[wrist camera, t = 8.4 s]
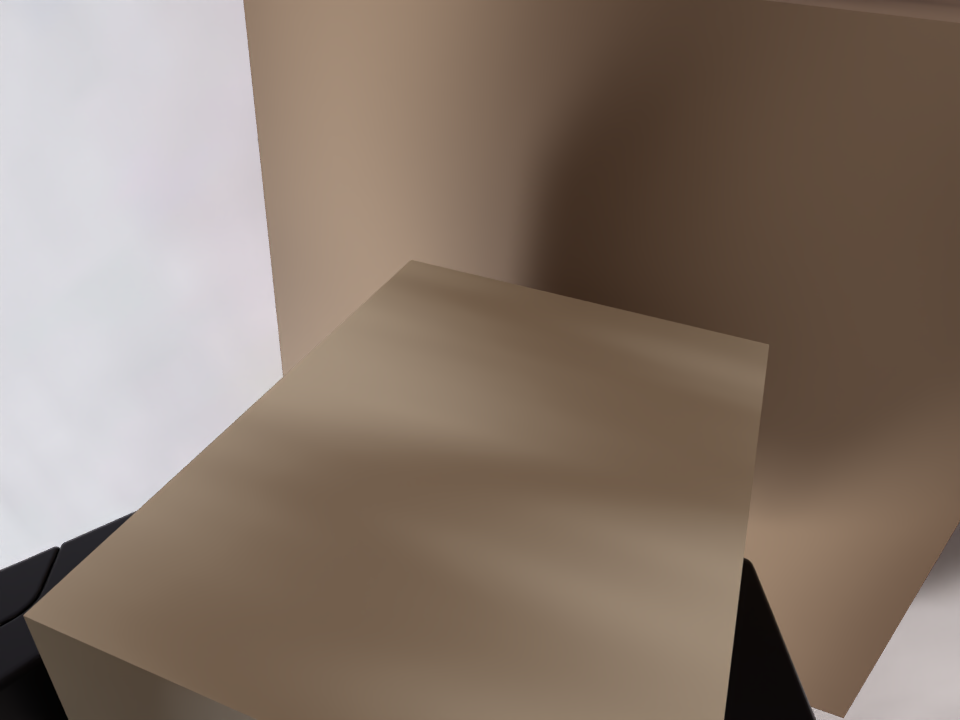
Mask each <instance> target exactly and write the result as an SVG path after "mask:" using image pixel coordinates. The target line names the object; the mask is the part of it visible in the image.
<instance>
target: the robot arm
mask: <svg viewBox="0 0 960 720" xmlns="http://www.w3.org/2000/svg"><path fill="white" fill-rule="evenodd" d="M137 511H138V510H137ZM135 512H136V511H135ZM135 512H133V513H131V514H128V515H126V516H124V517H121V518H119V519H117V520H115V521H112V522H110V523H108V524H105V525H103V526H101V527H99V528H96V529H94V530H92V531H90V532H87V533H85V534H83V535H80V536H78V537H76V538H74V539H71V540H69V541H67V542H64V543H63V544H62V545H61V547H60V548H59V547H53V548H50V549H48V550H46V551H44V552H41V553H39V554H37V555H34V556H32V557H30V558H28V559H25V560H23V561H21V562H18V563H16V564H13V565H11V566H9V567H6V568H4V569H2V570H0V720H68V717H67V715H66V713H65V710H64V708H63V706H62V704H61V701H60V699H59V697H58V694H57V692H56V690H55V688H54V685H53V683H52V681H51V678H50V676H49V674H48V671H47V669H46V667H45V665H44V662H43V660H42V658H41V655H40V653H39V651H38V649H37V646H36V644H35V642H34V639H33V637H32V635H31V632H30V630H29V628H28V626H27V623H26V621H25V619H24V616H23V615H24V614H25V613H26V612H27V611H28V610H30V609H31V608H32V607H33V606H34V605H35V604H36V603H37V602H38V601H39V600H40V599H42V598H43V597H44V596H45V595H46V594H47V593H48V592H49V591H50V590H51V589H52V588H54V587H55V586H56V585H57V584H58V583H59V582H60V581H61V580H62V579H63V578H64V577H66V576H67V575H68V574H69V573H70V572H71V571H72V570H73V569H74V568H75V567H76V566H78V565H79V564H80V563H81V562H82V561H83V560H84V559H85V558H86V557H87V556H88V555H90V554H91V553H92V552H93V551H94V550H95V549H96V548H97V547H98V546H99V545H100V544H102V543H103V542H104V541H105V540H106V539H107V538H108V537H109V536H110V535H111V534H112V533H114V532H115V531H116V530H117V529H118V528H119V527H120V526H121V525H122V524H123V523H124V522H126V521H127V520H128V519H129V518H130V517H131V516H132V515H133V514H134V513H135ZM724 720H816V718H815V716H814V713H813V711H812V708H811V706H810V704H809V701H808V699H807V696H806V694H805V691H804V689H803V686H802V684H801V681H800V679H799V676H798V674H797V671H796V669H795V667H794V664H793V662H792V659H791V657H790V654H789V652H788V649H787V647H786V644H785V642H784V639H783V637H782V634H781V632H780V629H779V627H778V625H777V622H776V620H775V617H774V615H773V612H772V610H771V607H770V605H769V602H768V600H767V597H766V595H765V592H764V590H763V587H762V585H761V583H760V580H759V578H758V575H757V573H756V570H755V568H754V566H753V564H752V562H751V561H750V560H748V559H746V558H743V567H742V575H741V583H740V591H739V600H738V608H737V616H736V625H735V633H734V641H733V649H732V658H731V666H730V674H729V682H728V691H727V699H726V707H725V716H724Z"/></svg>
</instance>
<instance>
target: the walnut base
mask: <svg viewBox="0 0 960 720" xmlns="http://www.w3.org/2000/svg"><path fill="white" fill-rule="evenodd" d="M243 1H244V10H245V20H246V29H247V39H248V48H249V57H250V67H251V76H252V86H253V95H254V105H255V114H256V124H257V133H258V143H259V152H260V162H261V171H262V180H263V190H264V199H265V209H266V218H267V228H268V237H269V247H270V256H271V266H272V275H273V285H274V294H275V304H276V313H277V322H278V332H279V341H280V351H281V360H282V370H283V377H284V376H285V375H286V374H287V373H288V372H289V371H290V370H291V369H292V368H294V367H295V366H296V365H297V364H298V363H299V362H300V361H301V360H302V359H303V358H304V357H306V356H307V355H308V354H309V353H310V352H311V351H312V350H313V349H314V348H315V347H316V346H318V345H319V344H320V343H321V342H322V341H323V340H324V339H325V338H326V337H327V336H328V335H330V334H331V333H332V332H333V331H334V330H335V329H336V328H337V327H338V326H339V325H340V324H342V323H343V322H344V321H345V320H346V319H347V318H348V317H349V316H350V315H351V314H352V313H354V312H355V311H356V310H357V309H358V308H359V307H360V306H361V305H362V304H363V303H364V302H366V301H367V300H368V299H369V298H370V297H371V296H372V295H373V294H374V293H375V292H376V291H378V290H379V289H380V288H381V287H382V286H383V285H384V284H385V283H386V282H387V281H388V280H390V279H391V278H392V277H393V276H394V275H395V274H396V273H397V272H398V271H399V270H400V269H402V268H403V267H404V266H405V265H406V264H407V263H408V262H409V261H410V260H415V261H419V262H423V263H427V264H431V265H436V266H440V267H444V268H448V269H453V270H457V271H461V272H465V273H469V274H474V275H478V276H482V277H486V278H491V279H495V280H499V281H503V282H507V283H512V284H516V285H520V286H524V287H528V288H533V289H537V290H541V291H545V292H550V293H554V294H558V295H562V296H566V297H571V298H575V299H579V300H583V301H588V302H592V303H596V304H600V305H604V306H609V307H613V308H617V309H621V310H626V311H630V312H634V313H638V314H642V315H647V316H651V317H655V318H659V319H664V320H668V321H672V322H676V323H680V324H685V325H689V326H693V327H697V328H702V329H706V330H710V331H714V332H718V333H723V334H727V335H731V336H735V337H740V338H744V339H748V340H752V341H756V342H761V343H765V344H769V351H768V360H767V368H766V376H765V384H764V393H763V401H762V409H761V418H760V426H759V434H758V442H757V451H756V459H755V467H754V475H753V484H752V492H751V500H750V509H749V517H748V525H747V533H746V542H745V550H744V558H746V559H748V560H750V561H751V562H752V564H753V566H754V568H755V570H756V573H757V575H758V578H759V580H760V583H761V585H762V587H763V590H764V592H765V595H766V597H767V600H768V602H769V605H770V607H771V610H772V612H773V615H774V617H775V620H776V622H777V625H778V627H779V629H780V632H781V634H782V637H783V639H784V642H785V644H786V647H787V649H788V652H789V654H790V657H791V659H792V662H793V664H794V667H795V669H796V671H797V674H798V676H799V679H800V681H801V684H802V686H803V689H804V691H805V694H806V696H807V699H808V701H809V704H810V706H811V707H814V708H816V709H819V710H822V711H825V712H828V713H830V714H833V715H836V716H839V717H842V718H844V716H845V715H846V713H847V711H848V710H849V708H850V706H851V705H852V703H853V701H854V700H855V698H856V696H857V694H858V693H859V691H860V689H861V688H862V686H863V684H864V683H865V681H866V679H867V678H868V676H869V674H870V672H871V671H872V669H873V667H874V666H875V664H876V662H877V661H878V659H879V657H880V656H881V654H882V652H883V650H884V649H885V647H886V645H887V644H888V642H889V640H890V639H891V637H892V635H893V634H894V632H895V630H896V628H897V627H898V625H899V623H900V622H901V620H902V618H903V617H904V615H905V613H906V611H907V610H908V608H909V606H910V605H911V603H912V601H913V600H914V598H915V596H916V595H917V593H918V591H919V589H920V588H921V586H922V584H923V583H924V581H925V579H926V578H927V576H928V574H929V573H930V571H931V569H932V567H933V566H934V564H935V562H936V561H937V559H938V557H939V556H940V554H941V552H942V551H943V549H944V547H945V545H946V544H947V542H948V540H949V539H950V537H951V535H952V534H953V532H954V530H955V529H956V527H957V525H958V523H959V522H960V0H243Z"/></svg>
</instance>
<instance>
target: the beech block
mask: <svg viewBox="0 0 960 720" xmlns="http://www.w3.org/2000/svg"><path fill="white" fill-rule="evenodd" d="M768 351H769V344H765V343H761V342H756V341H752V340H748V339H744V338H740V337H735V336H731V335H727V334H723V333H718V332H714V331H710V330H706V329H702V328H697V327H693V326H689V325H685V324H680V323H676V322H672V321H668V320H664V319H659V318H655V317H651V316H647V315H642V314H638V313H634V312H630V311H626V310H621V309H617V308H613V307H609V306H604V305H600V304H596V303H592V302H588V301H583V300H579V299H575V298H571V297H566V296H562V295H558V294H554V293H550V292H545V291H541V290H537V289H533V288H528V287H524V286H520V285H516V284H512V283H507V282H503V281H499V280H495V279H491V278H486V277H482V276H478V275H474V274H469V273H465V272H461V271H457V270H453V269H448V268H444V267H440V266H436V265H431V264H427V263H423V262H419V261H415V260H410V261H409V262H408V263H407V264H406V265H405V266H404V267H403V268H402V269H400V270H399V271H398V272H397V273H396V274H395V275H394V276H393V277H392V278H391V279H390V280H388V281H387V282H386V283H385V284H384V285H383V286H382V287H381V288H380V289H379V290H378V291H376V292H375V293H374V294H373V295H372V296H371V297H370V298H369V299H368V300H367V301H366V302H364V303H363V304H362V305H361V306H360V307H359V308H358V309H357V310H356V311H355V312H354V313H352V314H351V315H350V316H349V317H348V318H347V319H346V320H345V321H344V322H343V323H342V324H340V325H339V326H338V327H337V328H336V329H335V330H334V331H333V332H332V333H331V334H330V335H328V336H327V337H326V338H325V339H324V340H323V341H322V342H321V343H320V344H319V345H318V346H316V347H315V348H314V349H313V350H312V351H311V352H310V353H309V354H308V355H307V356H306V357H304V358H303V359H302V360H301V361H300V362H299V363H298V364H297V365H296V366H295V367H294V368H292V369H291V370H290V371H289V372H288V373H287V374H286V375H285V376H284V377H283V378H282V379H280V380H279V381H278V382H277V383H276V384H275V385H274V386H273V387H272V388H271V389H270V390H268V391H267V392H266V393H265V394H264V395H263V396H262V397H261V398H260V399H259V400H258V401H256V402H255V403H254V404H253V405H252V406H251V407H250V408H249V409H248V410H247V411H246V412H244V413H243V414H242V415H241V416H240V417H239V418H238V419H237V420H236V421H235V422H234V423H232V424H231V425H230V426H229V427H228V428H227V429H226V430H225V431H224V432H223V433H222V434H220V435H219V436H218V437H217V438H216V439H215V440H214V441H213V442H212V443H211V444H210V445H208V446H207V447H206V448H205V449H204V450H203V451H202V452H201V453H200V454H199V455H198V456H196V457H195V458H194V459H193V460H192V461H191V462H190V463H189V464H188V465H187V466H186V467H184V468H183V469H182V470H181V471H180V472H179V473H178V474H177V475H176V476H175V477H174V478H172V479H171V480H170V481H169V482H168V483H167V484H166V485H165V486H164V487H163V488H162V489H160V490H159V491H158V492H157V493H156V494H155V495H154V496H153V497H152V498H151V499H150V500H148V501H147V502H146V503H145V504H144V505H143V506H142V507H141V508H140V509H139V510H138V511H136V512H135V513H134V514H133V515H132V516H131V517H130V518H129V519H128V520H127V521H126V522H124V523H123V524H122V525H121V526H120V527H119V528H118V529H117V530H116V531H115V532H114V533H112V534H111V535H110V536H109V537H108V538H107V539H106V540H105V541H104V542H103V543H102V544H100V545H99V546H98V547H97V548H96V549H95V550H94V551H93V552H92V553H91V554H90V555H88V556H87V557H86V558H85V559H84V560H83V561H82V562H81V563H80V564H79V565H78V566H76V567H75V568H74V569H73V570H72V571H71V572H70V573H69V574H68V575H67V576H66V577H64V578H63V579H62V580H61V581H60V582H59V583H58V584H57V585H56V586H55V587H54V588H52V589H51V590H50V591H49V592H48V593H47V594H46V595H45V596H44V597H43V598H42V599H40V600H39V601H38V602H37V603H36V604H35V605H34V606H33V607H32V608H31V609H30V610H28V611H27V612H26V613H25V614H24V615H23V616H24V619H25V621H26V623H27V626H28V628H29V630H30V632H31V635H32V637H33V639H34V642H35V644H36V646H37V649H38V651H39V653H40V655H41V658H42V660H43V662H44V665H45V667H46V669H47V671H48V674H49V676H50V678H51V681H52V683H53V685H54V688H55V690H56V692H57V694H58V697H59V699H60V701H61V704H62V706H63V708H64V710H65V713H66V715H67V717H68V720H724V716H725V707H726V699H727V691H728V682H729V674H730V666H731V658H732V649H733V641H734V633H735V625H736V616H737V608H738V600H739V591H740V583H741V575H742V567H743V558H744V550H745V542H746V533H747V525H748V517H749V509H750V500H751V492H752V484H753V475H754V467H755V459H756V451H757V442H758V434H759V426H760V418H761V409H762V401H763V393H764V384H765V376H766V368H767V360H768Z"/></svg>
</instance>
